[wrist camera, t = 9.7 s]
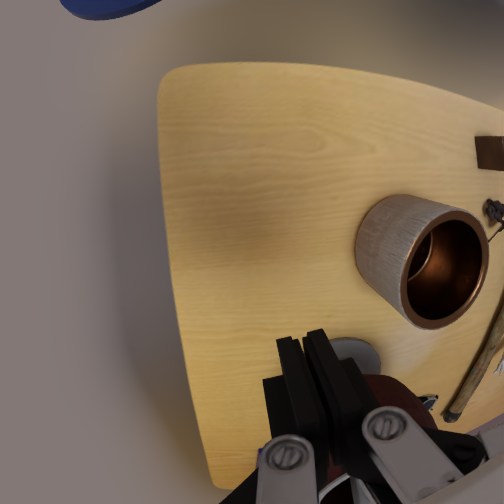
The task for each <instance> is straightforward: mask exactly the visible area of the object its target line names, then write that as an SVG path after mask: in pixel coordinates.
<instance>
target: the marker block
mask: <svg viewBox="0 0 504 504" xmlns="http://www.w3.org/2000/svg"><path fill="white" fill-rule="evenodd" d="M475 143H476V151H477V160H478V168H480V169H488V170H497V171H504V136H478V137H475Z"/></svg>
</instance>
